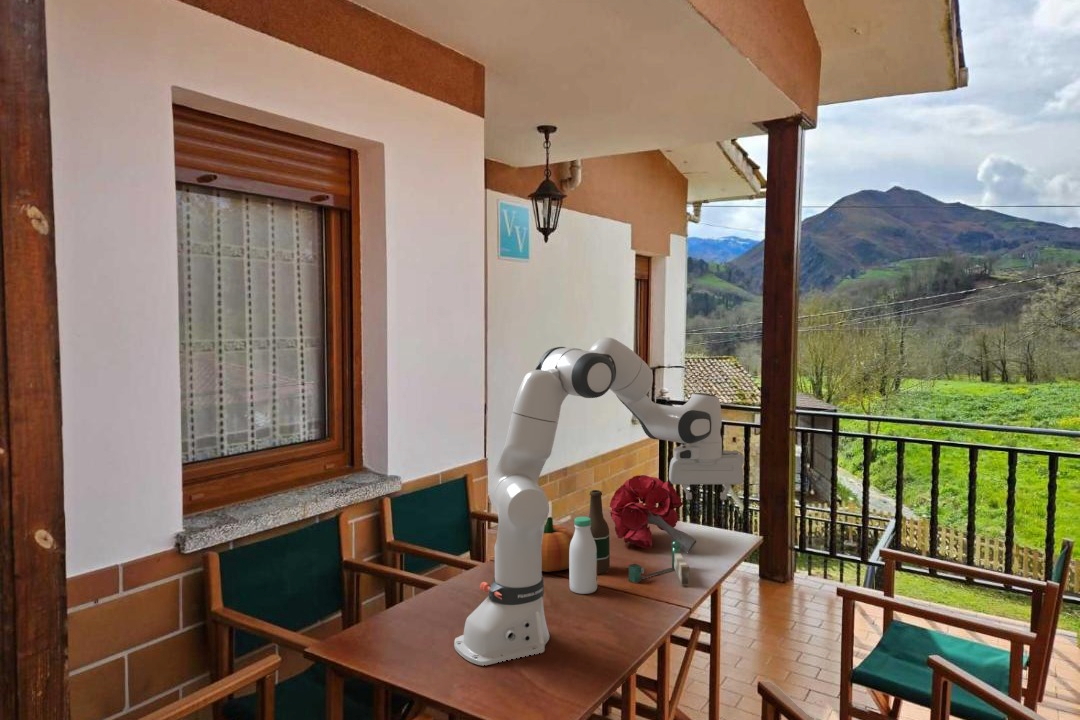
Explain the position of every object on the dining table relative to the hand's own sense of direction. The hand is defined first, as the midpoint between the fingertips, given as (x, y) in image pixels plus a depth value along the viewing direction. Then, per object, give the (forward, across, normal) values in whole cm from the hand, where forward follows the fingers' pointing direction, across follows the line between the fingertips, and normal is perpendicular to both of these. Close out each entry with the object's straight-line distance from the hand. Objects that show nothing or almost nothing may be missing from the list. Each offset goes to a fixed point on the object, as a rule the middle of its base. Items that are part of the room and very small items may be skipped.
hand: (706, 499), depth 189 cm
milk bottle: (+24, +35, +6) cm, 43 cm away
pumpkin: (+24, +46, -12) cm, 53 cm away
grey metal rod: (+24, +14, -6) cm, 28 cm away
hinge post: (+24, +7, -12) cm, 28 cm away
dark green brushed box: (+24, +20, -1) cm, 31 cm away
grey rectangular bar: (+24, +7, -4) cm, 25 cm away
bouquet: (+24, +13, -31) cm, 42 cm away
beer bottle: (+24, +31, -9) cm, 40 cm away
